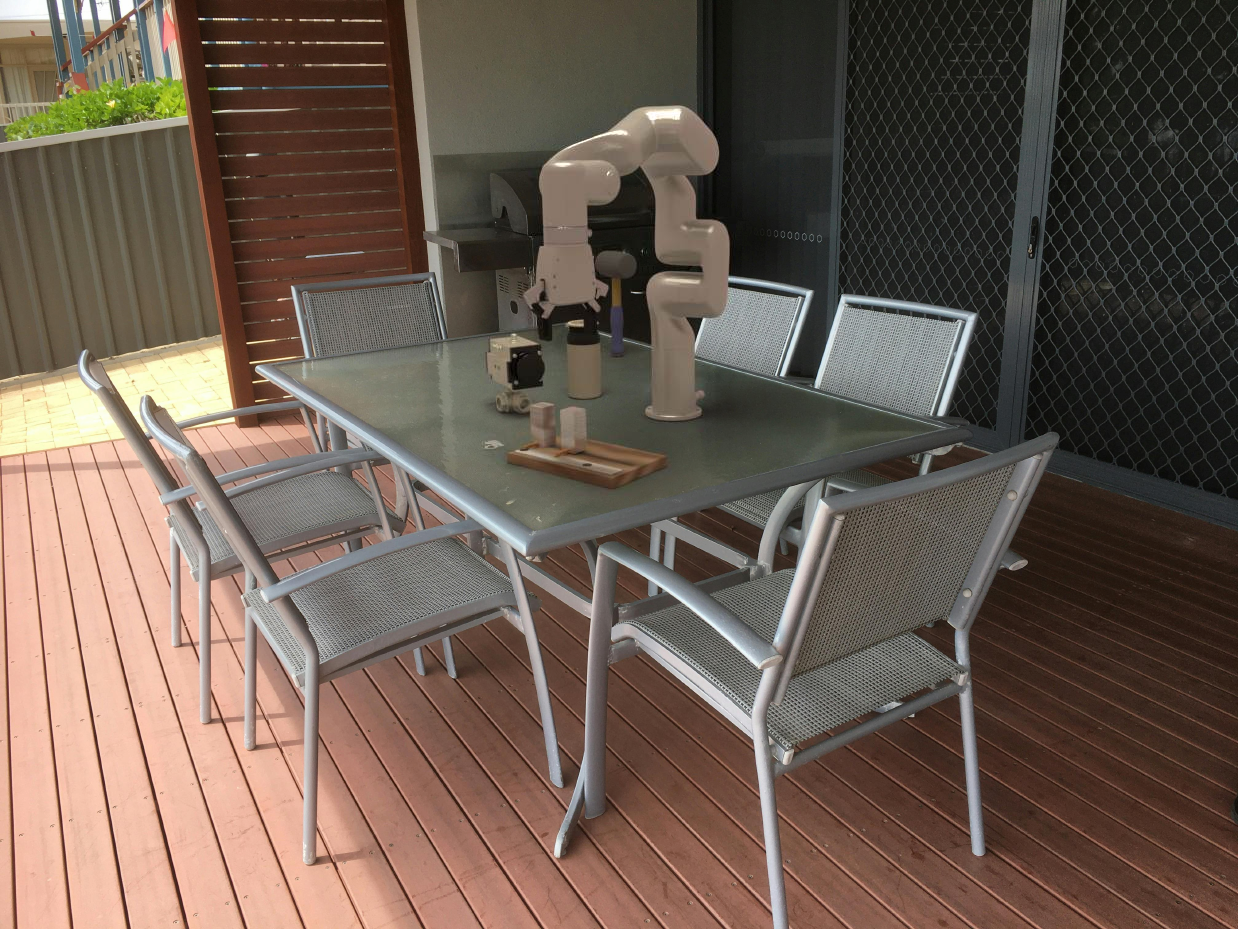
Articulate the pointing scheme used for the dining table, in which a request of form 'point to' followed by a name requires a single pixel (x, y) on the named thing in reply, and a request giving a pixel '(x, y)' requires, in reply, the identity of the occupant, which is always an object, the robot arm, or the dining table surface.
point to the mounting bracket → (493, 444)
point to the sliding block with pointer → (573, 430)
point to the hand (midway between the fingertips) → (568, 337)
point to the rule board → (581, 455)
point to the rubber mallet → (616, 290)
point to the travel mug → (583, 362)
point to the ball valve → (515, 370)
